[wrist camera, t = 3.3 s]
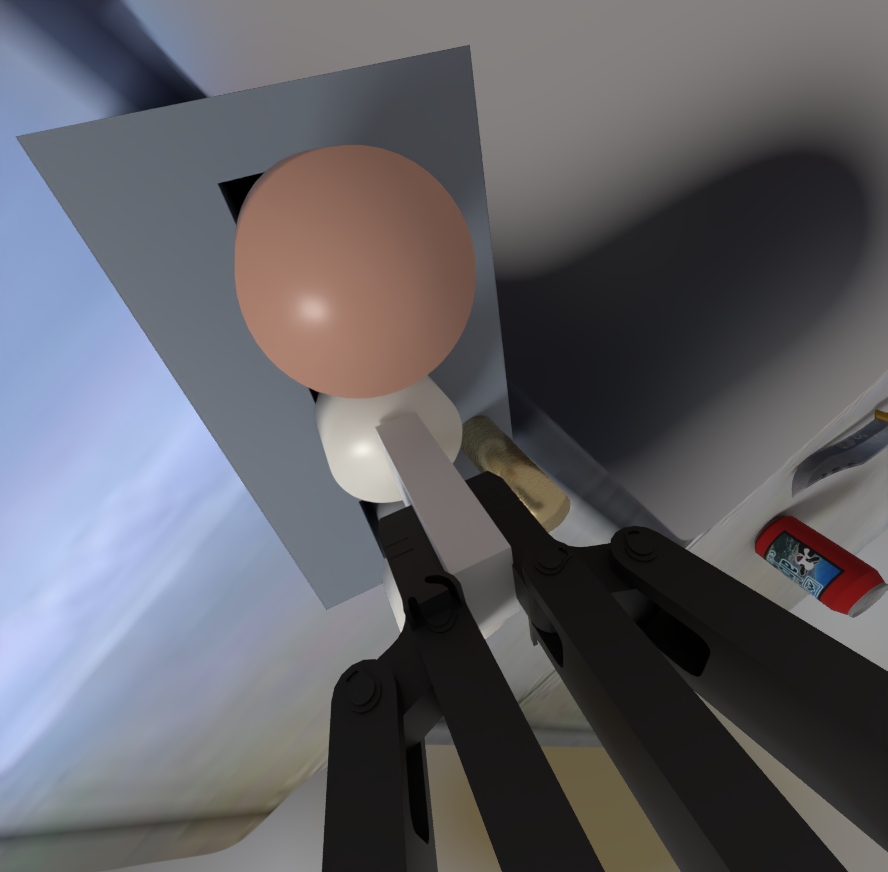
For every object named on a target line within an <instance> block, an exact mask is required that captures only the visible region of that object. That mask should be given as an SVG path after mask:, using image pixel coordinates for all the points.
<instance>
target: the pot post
mask: <svg viewBox="0 0 888 872" xmlns="http://www.w3.org/2000/svg"><path fill="white" fill-rule="evenodd" d="M462 429H463V430H462V442H461V446H460V448H461V449H462V450H463V452H464V453H465V454H466V455H467V457H468V458H469V459H470V460H471V462H472V463H473V464H474V466H475V467H476V468H477V469H478V471H479V472H480V473H483V472H486V471H490V472H492V473H494V474H496V475H498V476H500V477H502V478H503V479H504V480H505V482H506V483H507V484H508V485H509V487H510V488H511V489H512V491H514V493H515V494H516V495H517V496H518V497H519V499H520V501H522V502H523V503H524V505H525V506H526V507H527V508H528V509H529V511H530V512H531V513H532V514H533V515H534V517H535V518H536V519H537V520H538V521H539V523H540V524H541V525H542V526H543V527H544V529H545V530H546V531H547V532H550V531H552V530H554V529H555V528H556V527H558V526H559V525H560V524H561V523H562V522H563V520H564V519H565V518H566V516H567V514H568V512H569V509H570V500H569V498H568V497H567V496H566V495H565V494H564V493H563V492H562V491H561V490H560V489H559V488H558V487H557V486H556V485H555V484H554V483H553V482H552V481H551V480H550V479H549V477H548V476H547V475H546V474H545V473H544V472H543V471H542V470H541V469H540V468H539V467H538V466H537V465H536V464H535V463H534V462H533V461H532V460H531V459H530V458H529V457H528V456H527V455H526V454H525V453H524V452H523V451H522V450H521V449H520V448H519V447H518V446H517V445H516V444H515V443H514V442H513V441H512V440H511V439H510V438H509V437H508V436H507V435H506V434H505V433H504V432H503V431H502V430H501V429H500V428H499V427H498V426H497V425H496V424H495V423H494V422H493V421H492V420H491V419H490V418H489V417H487V416H475V417H472V418H470V419H469V420H467V421H466V422H465V423H464V424H463V425H462Z"/></svg>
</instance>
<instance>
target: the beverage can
mask: <svg viewBox="0 0 888 872" xmlns="http://www.w3.org/2000/svg"><path fill="white" fill-rule="evenodd" d="M755 552H756V553H757V554H758V555H760V556H761V557H762V558H764V559H765V560H766V561H768V562H769V563H770V564H771V565H773V566H774V567H775V568H777V569H778V570H779V571H781V572H782V573H783V574H784V575H786V576H787V577H788V578H790V579H791V580H792V581H794V582H795V583H796V584H798V585H799V586H800V587H802V588H803V589H804V590H806V591H807V592H808V593H810V594H811V595H812V596H814V597H815V598H816V599H818V600H819V601H820V602H822V603H823V604H825V605H826V606H827V607H829V608H830V609H831V610H833V611H837V612H840V613H843V614H846V615H849V616H850V617H852V618H853V617H856V616H858V615H860V614H861V613H863V612H864V611H866V610H867V609H868V608H869V607H871V606H872V605H873V604H874V603H875V602H877V601H878V600H879V599H880V598H881V597H882V596H883V594H884V593H885V592H886V591H887V590H888V584H886V583H885V582H884V580H883V579H882V577H881V576H880V574H879V573H878V571H877V570H876V569H874V568H873V567H871V566H870V565H868V564H867V563H865V562H864V561H862V560H860V559H859V558H857V557H856V556H854V555H853V554H851V553H850V552H848V551H847V550H845V549H843V548H842V547H840V546H839V545H837V544H836V543H834V542H833V541H831V540H829V539H828V538H826V537H825V536H823V535H822V534H820V533H818V532H817V531H815V530H814V529H812V528H810V527H809V526H807V525H806V524H804V523H802V522H801V521H799V520H798V519H796V518H794V517H793V516H786V517H782V518H781V517H779V518H776V519H774V520H772V521H771V522H769V523H768V524H767V525H766V526H765V527H764V528H763V529H762V530H761V531H760V532H759V534H758V535H757V537H756V539H755Z"/></svg>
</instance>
